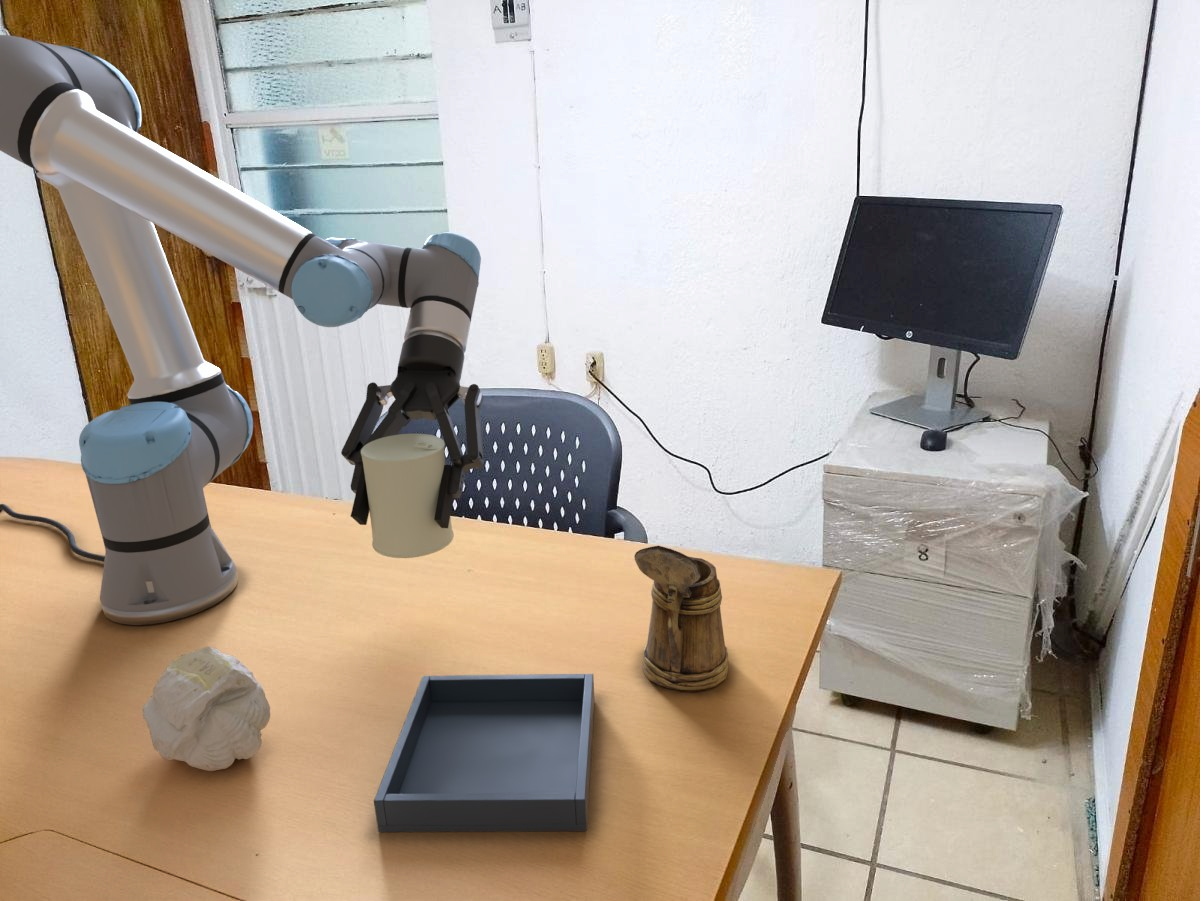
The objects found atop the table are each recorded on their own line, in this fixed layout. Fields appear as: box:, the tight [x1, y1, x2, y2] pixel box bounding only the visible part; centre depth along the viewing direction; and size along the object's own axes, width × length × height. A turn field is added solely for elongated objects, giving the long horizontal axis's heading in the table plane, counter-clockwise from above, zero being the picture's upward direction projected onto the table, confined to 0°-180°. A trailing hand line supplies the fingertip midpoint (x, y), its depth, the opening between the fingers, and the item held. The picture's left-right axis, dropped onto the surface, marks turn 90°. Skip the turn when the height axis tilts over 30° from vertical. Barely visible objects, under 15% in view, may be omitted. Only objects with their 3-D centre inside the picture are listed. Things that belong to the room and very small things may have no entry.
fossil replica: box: [141, 646, 271, 772], centre depth 75 cm, size 12×8×10 cm
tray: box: [373, 673, 596, 833], centre depth 73 cm, size 17×17×3 cm
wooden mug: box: [633, 545, 729, 693], centre depth 80 cm, size 9×14×18 cm, turn 159°
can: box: [361, 433, 455, 559], centre depth 94 cm, size 9×9×12 cm
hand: (399, 522), depth 91 cm, fingers closed on can, 9 cm apart
